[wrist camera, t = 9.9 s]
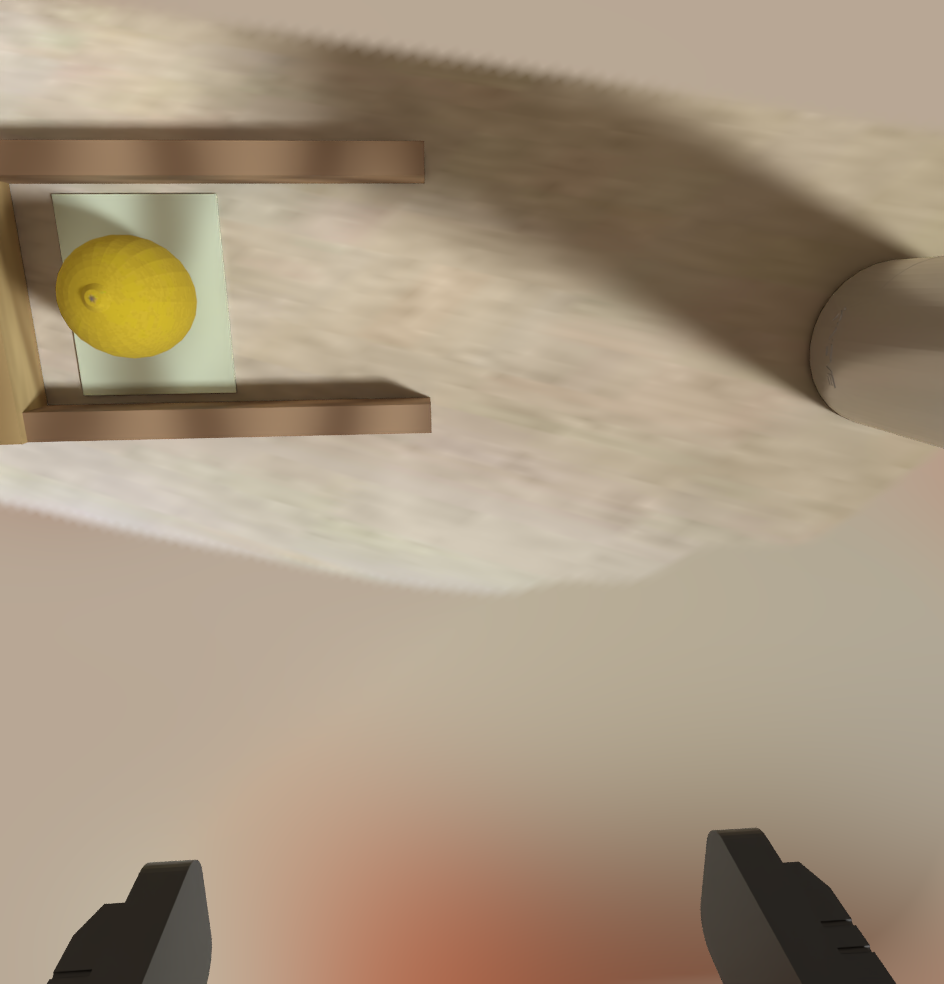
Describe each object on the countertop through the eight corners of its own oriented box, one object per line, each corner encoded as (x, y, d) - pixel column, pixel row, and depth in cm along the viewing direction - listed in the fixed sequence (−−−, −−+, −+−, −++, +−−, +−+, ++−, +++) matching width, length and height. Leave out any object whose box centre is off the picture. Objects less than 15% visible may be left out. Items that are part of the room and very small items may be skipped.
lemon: (83, 275, 36) (-8, 269, 28) (175, 220, 36) (107, 200, 28) (148, 370, 38) (77, 390, 30) (236, 319, 37) (188, 325, 29)
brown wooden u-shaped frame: (423, 151, 36) (423, 138, 33) (430, 424, 39) (431, 434, 37) (-29, 150, 34) (-71, 137, 31) (23, 433, 38) (-9, 444, 35)
